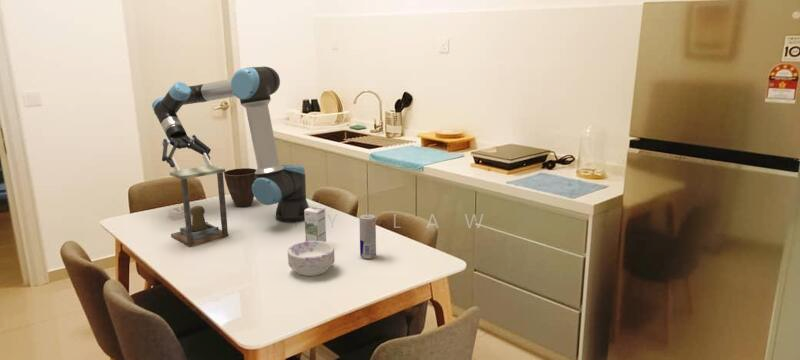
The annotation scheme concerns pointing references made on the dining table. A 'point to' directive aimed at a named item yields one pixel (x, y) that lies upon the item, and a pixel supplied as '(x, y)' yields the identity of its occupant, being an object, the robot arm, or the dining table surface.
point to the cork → (198, 219)
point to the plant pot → (240, 185)
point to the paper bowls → (311, 257)
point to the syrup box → (315, 224)
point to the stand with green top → (186, 232)
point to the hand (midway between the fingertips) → (194, 169)
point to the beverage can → (367, 236)
